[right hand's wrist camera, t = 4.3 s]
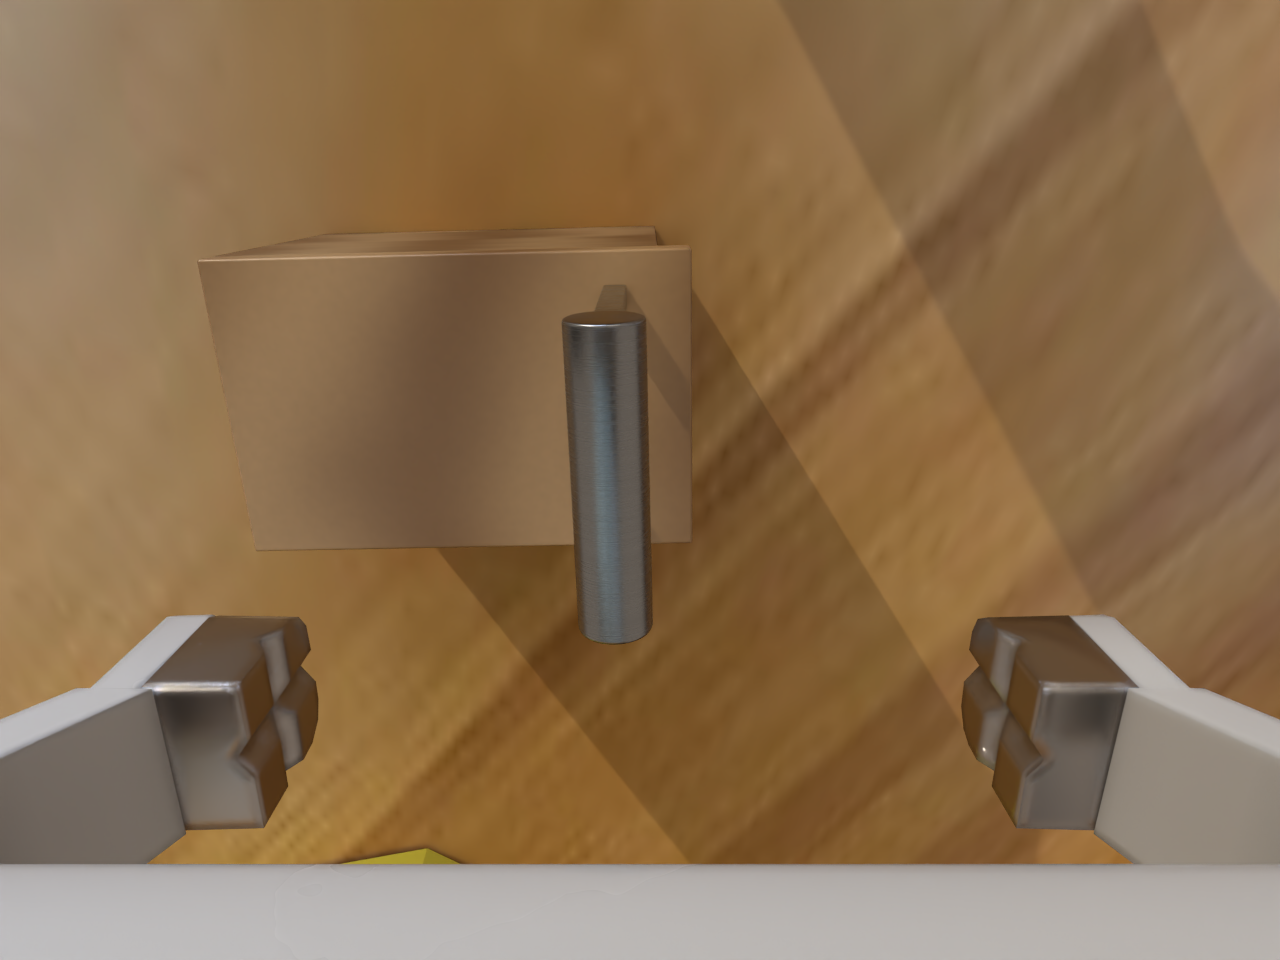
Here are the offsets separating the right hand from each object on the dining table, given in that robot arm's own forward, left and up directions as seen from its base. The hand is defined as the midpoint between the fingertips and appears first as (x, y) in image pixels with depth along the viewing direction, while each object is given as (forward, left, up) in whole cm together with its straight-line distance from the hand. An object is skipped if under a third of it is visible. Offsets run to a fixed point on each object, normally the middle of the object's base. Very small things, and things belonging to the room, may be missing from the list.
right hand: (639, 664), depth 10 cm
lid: (+2, +6, -18) cm, 19 cm away
